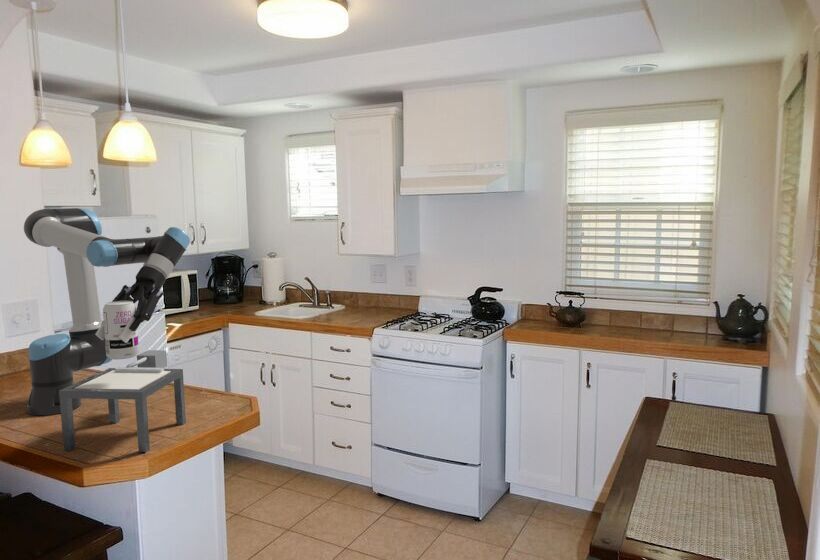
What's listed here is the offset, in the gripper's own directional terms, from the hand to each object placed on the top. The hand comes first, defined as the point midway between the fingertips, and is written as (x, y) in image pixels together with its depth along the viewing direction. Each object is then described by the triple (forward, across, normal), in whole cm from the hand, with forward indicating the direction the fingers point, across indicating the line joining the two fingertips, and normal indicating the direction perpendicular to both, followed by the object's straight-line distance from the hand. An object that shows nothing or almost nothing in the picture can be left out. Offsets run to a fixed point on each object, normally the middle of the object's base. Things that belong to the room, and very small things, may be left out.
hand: (110, 338), depth 165 cm
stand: (+17, +2, -24) cm, 30 cm away
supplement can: (+2, 0, -7) cm, 7 cm away
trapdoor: (+2, +5, -21) cm, 21 cm away
